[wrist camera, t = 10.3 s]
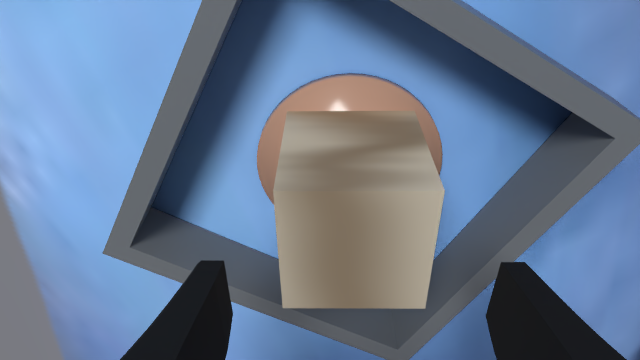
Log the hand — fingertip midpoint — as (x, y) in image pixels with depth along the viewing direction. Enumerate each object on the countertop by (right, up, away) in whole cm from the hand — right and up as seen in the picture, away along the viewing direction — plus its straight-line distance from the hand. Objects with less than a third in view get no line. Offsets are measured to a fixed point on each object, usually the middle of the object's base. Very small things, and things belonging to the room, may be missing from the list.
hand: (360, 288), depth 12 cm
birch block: (0, +3, +5) cm, 6 cm away
